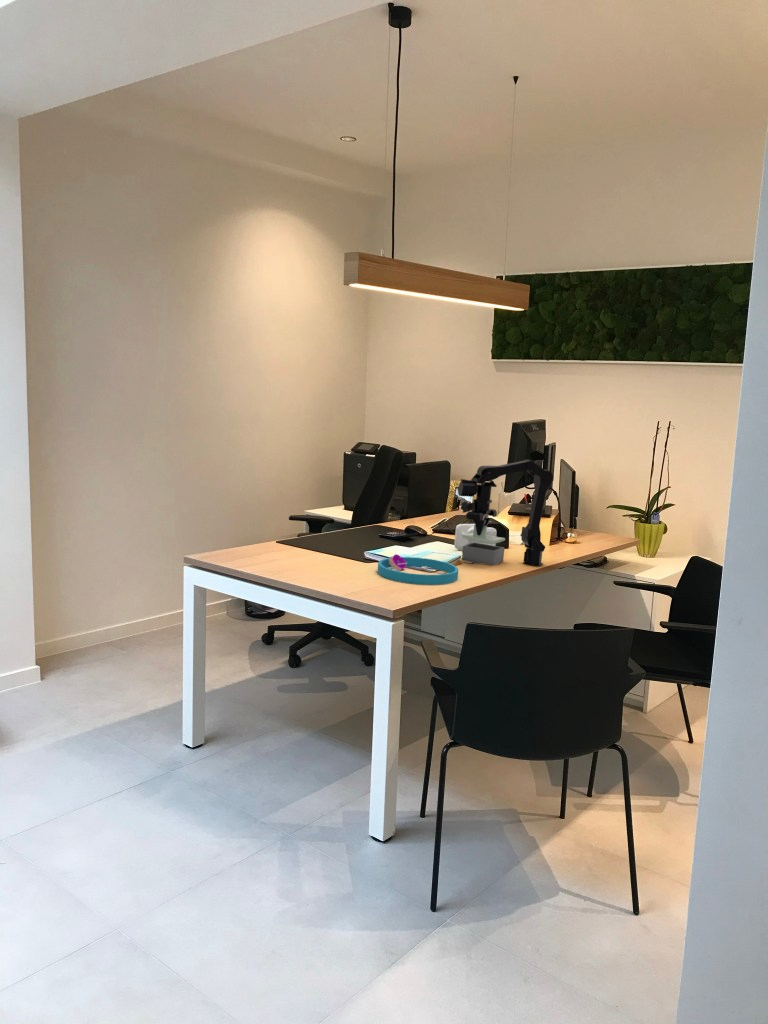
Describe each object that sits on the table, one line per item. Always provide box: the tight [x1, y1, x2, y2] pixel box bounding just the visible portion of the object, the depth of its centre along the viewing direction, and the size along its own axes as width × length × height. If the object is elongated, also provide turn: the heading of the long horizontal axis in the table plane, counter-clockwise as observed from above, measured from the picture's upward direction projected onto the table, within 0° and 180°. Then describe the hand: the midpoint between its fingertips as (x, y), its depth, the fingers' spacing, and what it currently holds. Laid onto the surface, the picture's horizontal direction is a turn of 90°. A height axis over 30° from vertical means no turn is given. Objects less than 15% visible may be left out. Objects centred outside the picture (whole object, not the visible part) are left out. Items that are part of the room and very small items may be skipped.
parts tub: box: [461, 542, 505, 566], centre depth 341 cm, size 14×11×6 cm
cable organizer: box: [453, 523, 497, 551], centre depth 359 cm, size 15×11×12 cm
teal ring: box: [377, 554, 459, 586], centre depth 307 cm, size 30×30×6 cm
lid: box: [462, 525, 506, 545], centre depth 339 cm, size 14×11×7 cm
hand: (479, 535), depth 335 cm, fingers closed on lid
